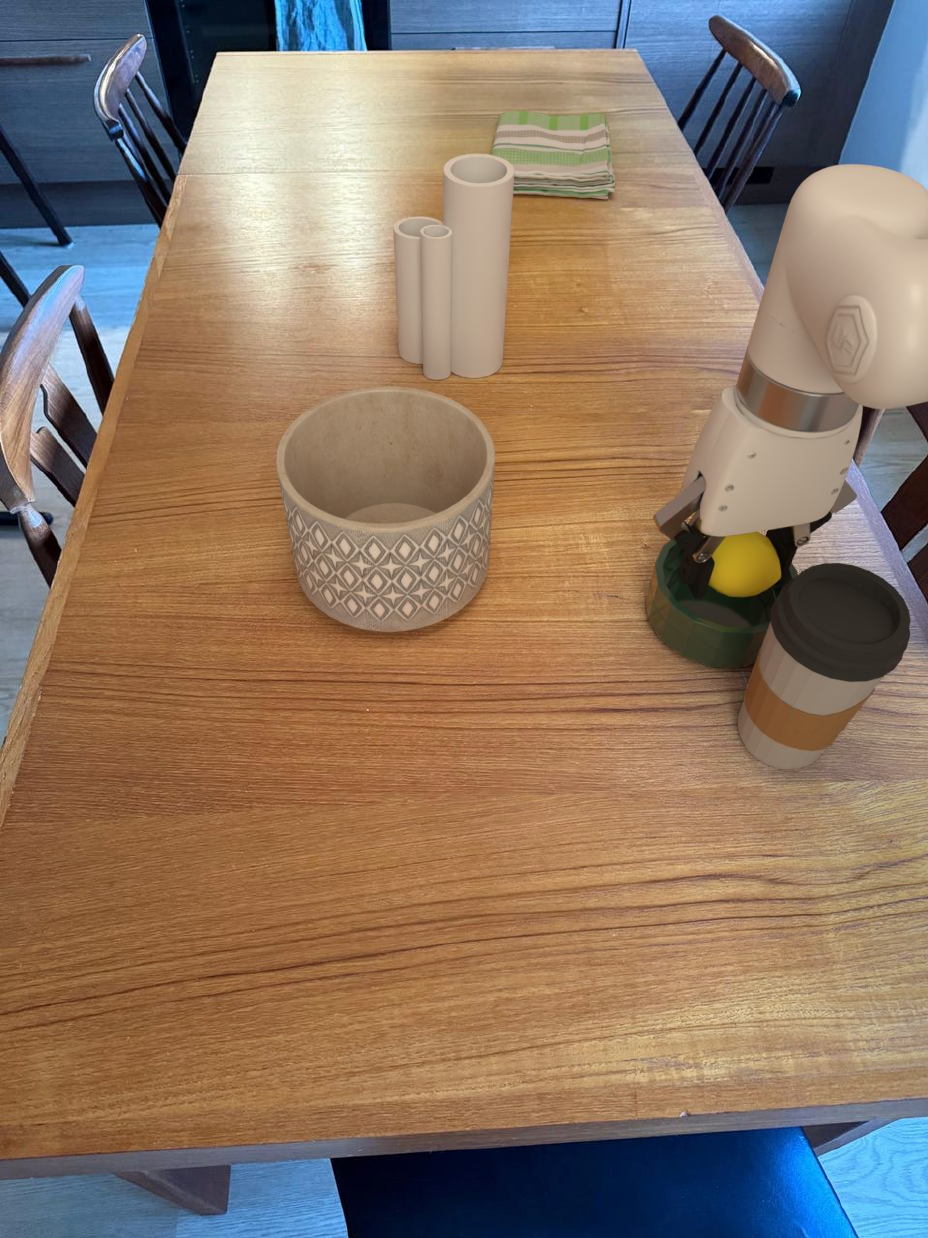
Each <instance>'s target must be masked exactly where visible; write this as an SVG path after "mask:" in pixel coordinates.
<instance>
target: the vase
mask: <svg viewBox="0 0 928 1238" xmlns="http://www.w3.org/2000/svg"><path fill="white" fill-rule="evenodd" d="M442 179H443V180H442V184H443V185H442V196H443V197H442V211H443V212H442V216H443V217H442V219H443V220H442V221H441V220H439V219H437V218H434V217H429V216H423V215H422V216H408V217H404V218H401V219H400V220H398V221H396V222H395V223H394V224H393V227H392V231H393V251H394V274H395V275H394V276H395V295H396V297H395V299H396V321H397V339H398V341H397V342H398V354H399V356H400V358H401V359H402V360H404V361H406V362H408V363H411V364H416V365H422V373H423V376H424V377H425V378H427V379H430V380H432V381H441V380H446V379H447V378H449V377H450V376H451V374H452V373H453V374H454V375H456V376H459V377H461V378H468V379H481V378H486V377H489V376H492V375H494V374H495V373H497V372H498V371H499V370H500V369H501V368H502V366H503V362H504V349H505V335H506V318H507V303H508V302H507V301H508V286H509V285H508V284H509V283H508V282H509V268H510V251H511V237H512V235H511V234H512V218H513V203H514V194H513V187H514V168H513V166H512V165H511V164H510V163H509V162H508V161H507V160H505V159H502V158H500V157H497V156H493V155H491V154H490V153H489V154H487V153H467V154H462V155H458V156H455V157H453V158H450V159H449V160H448V161H447V162H446V163H444V166H443V167H442Z"/></svg>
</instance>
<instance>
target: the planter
mask: <svg viewBox="0 0 928 1238" xmlns="http://www.w3.org/2000/svg"><path fill="white" fill-rule="evenodd" d="M495 464H496V449H495V444H494V440H493V438H492V436H491V433H490V431H489V429H487V427H486V425H485V424H484V422H482V420H481V419H480V418H479V417H478V416H477V415H476V414H475V413H474V412H472V411H471V410H470V409H468V408H467V407H465V406H464V405H463V404H461V403H459V402H457V401H455V400H453V399H452V398H450V397H447V396H444V395H442V394H440V393H437V392H433V391H429V390H424V389H421V388H416V387H409V386H395V385H393V386H392V385H384V386H371V387H370V386H369V387H363V388H357V389H353V390H349V391H344V392H341V393H339V394H336V395H333V396H329V397H328V398H325V399H324V400H321V401H320V402H317V403H316V404H314V405H312V406H311V407H309V408H308V409H306V410H305V411H303V412H302V413H301V414H299V416H297V417H296V418H295V419H294V420H293V421H292V422H291V423H290V425H288V427H287V428H286V429H285V431H284V433H283V435H282V436H281V438H280V440H279V442H278V446H277V449H276V453H275V469H276V474H277V478H278V485H279V490H280V494H281V495H280V496H281V500H282V507H283V511H284V516H285V522H286V526H287V532H288V537H289V543H290V548H291V553H292V558H293V563H294V568H295V575H296V579H297V582H298V583H299V586H300V589H301V590H302V592H303V594H305V596H306V597H307V599H308V600H309V601H310V602H311V603H312V604H313V606H315V607H316V608H317V609H318V610H319V611H320V612H322V613H324V614H325V615H327V616H328V617H329V618H331V619H333V620H336V621H337V622H340V623H341V624H344V625H346V626H350V627H353V628H356V629H361V630H365V631H371V632H385V633H393V632H394V633H395V632H407V631H413V630H417V629H423V628H426V627H429V626H432V625H435V624H438V623H440V622H442V621H443V620H446V619H449V618H450V617H451V616H453V615H455V614H456V613H458V612H459V611H461V610H462V609H463V608H464V607H466V606H467V605H468V604H469V603H470V602H471V601H473V599H474V598H475V597H476V595H477V594H478V592H480V590H481V589H482V586H483V585H484V583H485V581H486V578H487V575H488V571H489V567H490V553H491V535H492V519H493V518H492V516H493V515H492V514H493V502H494V499H493V498H494V482H495V468H496V467H495V466H496V465H495Z"/></svg>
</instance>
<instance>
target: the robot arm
mask: <svg viewBox="0 0 928 1238" xmlns="http://www.w3.org/2000/svg"><path fill="white" fill-rule="evenodd" d="M747 343H748V344H747V346H746V350H745V354H744V356H743V360H742V363H741V367H740V370H739V373H738V377H737V381H736V383H735V385H731V386H728V387H727V386H726V387H725V388H723V390H722V391H721V393H720V394H719V396H718V398H717V399H716V401H715V402H714V404H713V406H712V407H711V410H710V412H709V413H708V415H707V418H706V420H705V421H704V424H703V426H702V427H701V430H700V433H699V434H698V437H697V440H696V442H695V445H694V446H693V450H692V453H691V455H690V458H689V461H688V463H687V466H686V469H685V473H684V475H683V479H682V483H681V485H680V493H678V494H677V495H676V496H674V498H672V499H671V500H670V501H669V502H667V503H666V504H665V505H664V506H662V507H661V508H660V509H659V510H657V511H656V512H655V513H654V514H653V516H652V520H653V523H654V524H655V526H656V528H657V529H658V532H659V533H661V534H662V535H663V536H665V537H667V538H668V539H670V540H674V541H675V542H676V543H677V545H678V546H679V547H681V548H682V549H683V550H684V552H683V556H682V559H681V563H680V566H679V575H680V578H681V580H682V582H683V583H684V584H687V585H688V587H689V589H690V591H691V592H692V594H693V596H694V598H695V599H697V598H702V597H703V596H704V595H705V593H706V590H707V587H708V584H709V581H710V578H711V575H712V572H713V569H714V566H715V562H714V560H713V558H712V554H713V553H714V552H715V550H716V549H717V548H718V547H719V545H720V544H721V543H722V541H723V540H724V539H725V537H726V536H731V535H738V534H745V533H752V532H765V531H766V533H765V535H764V536H766V537H767V538H769V540H770V541H771V543H772V544H773V546H774V547H775V549H776V552H777V555H778V558H779V561H780V568H781V578H780V579H779V580H778V581H777V582H776V583H775V584H774V585H779V584H783V582H784V579H785V577H786V575H787V572H788V570H789V568H790V565H791V563H792V564H793V560H794V558H795V557H796V553H797V551H798V549H799V548H801V547H804V546H806V545H807V544H809V543H810V542H811V539H812V538H811V535H812V533H814V532H815V531H817V530H818V529H819V528H821V527H823V526H824V525H826V524H827V523H828V522H829V521H830V520H831V519H832V518H833V514H838V512H840V511H842V510H843V509H844V508H846V507H847V506H849V505H850V504H852V503H853V502H854V501H855V500H856V499H857V498H858V494H857V493H856V491H855V490H854V489H853V488H852V486H851V484H850V483H849V482H848V481H847V480H846V479H847V476H848V473H849V471H850V467H851V464H852V461H853V458H854V455H855V452H856V447H857V445H858V440H859V436H860V435H859V434H860V430H861V426H862V420H863V419H862V418H863V411H864V409H863V408H864V407H867V408H870V409H874V410H875V409H876V410H892V409H900V408H905V407H909V406H910V407H911V406H915V405H918V404H923V403H927V402H928V190H927V188H926V187H925V186H924V185H923V184H921V183H920V182H919V181H917V180H916V179H914V178H913V177H911V176H909V175H907V174H904V173H902V172H899V171H896V170H893V169H890V168H887V167H882V166H877V165H870V164H862V163H861V164H859V163H847V164H846V163H845V164H837V165H831V166H828V167H825V168H822V169H820V170H818V171H815V172H813V173H812V174H810V175H809V176H808V177H806V178H805V179H804V180H803V181H802V182H801V183H800V185H798V187H797V188H796V190H795V192H794V193H793V196H792V197H791V200H790V203H789V205H788V207H787V211H786V214H785V218H784V220H783V225H782V228H781V231H780V235H779V238H778V242H777V244H776V248H775V252H774V254H773V259H772V261H771V265H770V269H769V272H768V275H767V278H766V283H765V285H764V289H763V292H762V296H761V299H760V303H759V305H758V310H757V313H756V316H755V319H754V323H753V327H752V331H751V332H750V336H749V340H748V342H747ZM690 517H691V518H690ZM689 518H690V519H689ZM687 519H689V521H688V522H686V520H687ZM701 532H702V533H704V534H706V536H705V537H703V535H701Z"/></svg>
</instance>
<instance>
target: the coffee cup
mask: <svg viewBox="0 0 928 1238" xmlns="http://www.w3.org/2000/svg"><path fill="white" fill-rule="evenodd" d="M910 625H911V615H910V609H909V607H908V605H907V603H906V601H905V599H904V597H903V596H902V595H901V594H900V592H899V591H898V590H897V589H896V588H895V586H893V585H892V584H891V583H890V582H888V581H887V580H886V579H884V577H882V576H880V575H879V574H876V573H874V572H873V571H870V570H868V569H866V568H863V567H861V566H856V565H853V564H848V563H841V562H824V563H820V564H815V565H812V566H811V565H810V566H809V567H808V568H806V569H804V570H802V571H800V572H799V573H798V576H797V577H795V578H793V579H791V580H790V581H789V582H788V583H787V584H786V585H785V586H784V587H783V589H782V590H781V592H780V595H779V596H778V597H777V598H776V599H775V601H774V604H773V606H772V609H771V622H770V625H769V628H768V631H767V634H766V635H765V637H764V639H763V642H762V645H761V647H760V650H759V653H758V656H757V659H756V662H755V663H754V666H753V668H752V670H751V671H752V672H751V675H750V677H749V680H748V682H747V687H746V689H745V692H744V695H743V702H742V705H741V708H740V711H739V714H738V716H737V730H738V733H739V737H740V739H741V742H742V744H743V745H744V746H745V748H746V750H747V751H748V753H750V754H751V755H752V756H753V757H754V758H755V759H757V760H758V761H759V762H761V763H763V764H764V765H767V766H770V767H772V768H776V769H781V770H795V769H801V768H804V767H808V766H810V765H812V764H813V763H815V762H816V761H817V760H818V759H819V758H820V757H821V756H822V754H823V753H824V752H825V751H826V750H827V748H828V747H829V746H831V745H832V744H833V743H834V741H836V739H837V738H838V736H839V735H840V734H841V733H842V732H843V730H844V729H845V728H846V727H847V725H848V724H849V723H850V722H851V721H852V719H853V718H854V717H855V715H856V714H857V713H858V712H859V711H860V709H861V708H862V707H863V706H864V705H865V703H866V702H867V701H868V699H869V698H870V697H871V696H872V695H873V693H874V692H875V690H876V687H877V686H878V685H879V684H880V683H881V681H882V680H883V679H884V678H885V676H886V675H888V674H890V673H891V672H892V671H894V670H895V669H896V668H897V667H898V665H899V664H900V662H901V661H902V660H903V656H904V653H906V652H905V651H906V650H907V649H908V646H909V640H910V637H911V631H910Z"/></svg>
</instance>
